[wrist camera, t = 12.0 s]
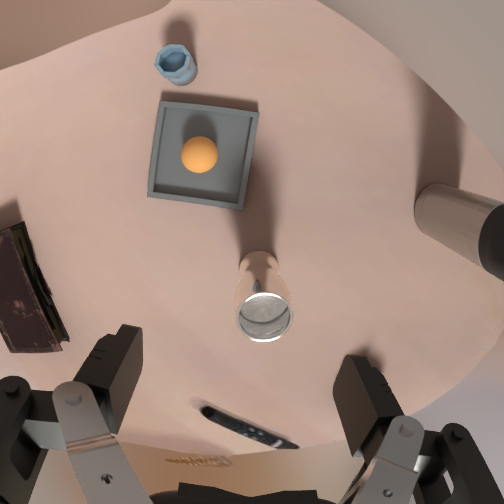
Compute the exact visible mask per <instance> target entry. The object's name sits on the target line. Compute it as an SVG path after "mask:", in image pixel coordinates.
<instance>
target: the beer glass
mask: <svg viewBox="0 0 504 504" xmlns="http://www.w3.org/2000/svg"><path fill="white" fill-rule="evenodd" d="M278 271H279V267H278V263H277V261H276V259H275V258H274V257H273V256H272V255H271V254H270V253H268V252H265V251H253V252H251V253H249V254H247V255H246V256H245V257H244V258H243V259H242V261H241V263H240V267H239V272H240V276H241V279H240V281H239V283H238V286H237V289H236V292H235V315H236V324H237V326H238V328H239V330H240V331H241V332H242V333H243V334H244V335H245V336H246V337H248V338H250V339H252V340H255V341H271V340H275V339H277V338H279V337H281V336H282V335H284V334H285V333H286V332H287V331H288V330H289V328H290V327H291V325H292V322H293V309H292V301H291V296H290V293H289V290H288V287H287V285H286V283H285V282H284V280H283V279H282V277H281V276H280V275H279V274H278Z"/></svg>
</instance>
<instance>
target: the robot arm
mask: <svg viewBox="0 0 504 504" xmlns="http://www.w3.org/2000/svg"><path fill="white" fill-rule="evenodd" d="M414 216H415V221H416V223H417V226H418V227H419V229H420V230H421V231H422V232H423V233H424V234H426V235H428V236H430V237H431V238H433V239H435V240H436V241H438V242H440V243H441V244H443V245H445V246H447V247H448V248H450V249H452V250H453V251H455V252H457V253H458V254H460V255H462V256H463V257H465V258H467V259H468V260H470V261H471V262H473V263H475V264H476V265H478V266H480V267H481V268H483V269H484V270H486V271H487V272H489V273H491V274H492V275H494V276H496V277H497V278H499V279H501V280H502V281H504V202H501V201H498V200H494V199H491V198H488V197H485V196H481V195H478V194H475V193H471V192H468V191H464V190H461V189H457V188H454V187H451V186H447V185H443V184H438V183H435V184H431V185H429V186H427V187H426V188H424V189H423V190H422V192H421V193H420V194H419V196H418V198H417V200H416V203H415V209H414ZM142 365H143V333H142V328H140V327H135V326H130V325H126V324H122V326H121V327H120V329H119V330H118V332H117V334H116V335H112V334H107V335H106V336H104V337H102V338H101V339H99V340H98V342H97V343H96V345H95V346H94V348H93V350H92V351H91V352H90V354H89V357H87V359H86V360H85V362H84V363H83V365H82V366H81V368H80V370H79V371H78V373H77V374H76V376H75V378H74V379H73V381H69V382H64V383H62V384H60V385H58V386H57V387H56V388H55V390H54V391H40V390H31V388H30V385H29V383H28V382H27V381H26V380H25V379H24V378H22V377H19V376H8V377H5V378H3V379H1V380H0V504H28V502H29V500H30V497H31V494H32V491H33V488H34V486H35V483H36V480H37V478H38V475H39V472H40V470H41V467H42V465H43V462H44V459H45V457H46V455H47V452H48V450H49V449H55V450H67V452H68V455H69V458H70V461H71V463H72V466H73V469H74V471H75V473H76V476H77V479H78V481H79V483H80V486H81V488H82V491H83V493H84V495H85V497H86V500H87V502H88V504H336V503H333V502H330V501H327V500H323V499H319V498H318V496H317V491H316V490H303V491H281V492H276V493H271V494H267V495H261V496H255V497H247V496H243V495H239V494H235V493H232V492H229V491H225V490H222V489H219V488H215V487H210V486H201V485H194V484H188V483H181V482H180V483H179V488H178V490H173V491H164V492H160V493H156V494H153V495H150V496H148V494H147V493H146V491H145V489H144V488H143V486H142V485H141V483H140V481H139V480H138V478H137V476H136V475H135V473H134V471H133V469H132V467H131V466H130V464H129V462H128V460H127V458H126V457H125V455H124V453H123V451H122V449H121V447H120V445H119V443H118V441H117V439H116V438H115V437H114V436H113V437H112V435H111V433H113V434H118V431H119V429H120V426H121V423H122V420H123V418H124V415H125V412H126V410H127V407H128V405H129V402H130V399H131V397H132V394H133V392H134V389H135V387H136V384H137V382H138V379H139V377H140V374H141V371H142ZM333 397H334V401H335V404H336V407H337V410H338V413H339V416H340V419H341V422H342V426H343V429H344V432H345V435H346V438H347V442H348V445H349V448H350V451H351V455H352V457H361V456H363V457H364V462H363V463H362V465H361V466H360V468H359V470H358V472H357V474H356V475H355V477H354V479H353V481H352V483H351V484H350V486H349V488H348V490H347V491H346V493H345V495H344V496H343V497H342V499H341V500H340V502H339V503H338V504H409V501H410V498H411V495H412V493H413V495H414V498H415V501H416V504H504V499H503V497H502V494H501V492H500V490H499V488H498V486H497V484H496V482H495V480H494V478H493V476H492V474H491V472H490V470H489V468H488V466H487V464H486V462H485V460H484V458H483V456H482V455H481V453H480V451H479V449H478V447H477V446H476V444H475V442H474V440H473V438H472V436H471V435H470V433H469V431H468V430H467V429H466V428H464V427H463V426H462V425H460V424H457V423H449V424H447V425H445V427H444V428H443V429H442V430H441V432H435V431H428V430H424V428H423V426H422V425H421V423H420V422H419V421H417V420H416V419H414V418H412V417H410V416H405V415H404V413H403V411H402V409H401V407H400V405H399V404H398V402H397V400H396V398H395V396H394V394H393V393H392V390H391V388H390V387H389V386H388V383H387V381H386V379H385V377H384V375H383V374H382V373H380V372H379V371H378V370H377V369H376V368H375V367H371V365H370V363H369V361H368V359H367V357H366V356H365V355H346V356H345V358H344V360H343V363H342V365H341V368H340V370H339V373H338V375H337V377H336V380H335V382H334V386H333ZM447 470H448V472H449V475H450V477H451V480H452V482H453V485H454V490H453V493H452V495H451V493H450V490H449V488H448V486H447V483H446V481H445V478H444V476H443V474H444V473H445V472H446V471H447Z"/></svg>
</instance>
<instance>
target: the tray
mask: <svg viewBox="0 0 504 504" xmlns="http://www.w3.org/2000/svg"><path fill="white" fill-rule="evenodd" d="M258 118H259V113H257V112H251V111H245V110H239V109H232V108H224V107H217V106H209V105H200V104H190V103H179V102H167V101H160V105H159V111H158V117H157V123H156V130H155V136H154V143H153V150H152V158H151V165H150V174H149V182H148V192H147V197H152V198H160V199H167V200H174V201H182V202H189V203H196V204H203V205H209V206H216V207H223V208H229V209H236V210H242V211H243V205H244V199H245V193H246V187H247V181H248V176H249V170H250V164H251V158H252V152H253V147H254V141H255V135H256V130H257V124H258ZM199 136H202V137H206V138H208V139H210V140H211V141H213V142H214V144H215V145H216V147H217V150H218V159H217V162H216V163H215V165H214V166H213V167H212V168H211V169H210V170H208V171H206V172H203V173H195V172H192V171H190V170H188V169H187V168H186V167H185V166H184V164H183V163H182V160H181V151H182V148H183V146H184V144H185V143H186V142H187V141H188V140H190V139H191V138H194V137H199Z"/></svg>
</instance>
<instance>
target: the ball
mask: <svg viewBox="0 0 504 504" xmlns="http://www.w3.org/2000/svg"><path fill="white" fill-rule="evenodd" d="M217 159H218V150H217V147H216V145H215V144H214V142H213V141H211V140H210V139H208V138H206V137H202V136H199V137H194V138H191V139H190V140H188V141H187V142H186V143H185V144H184V146H183V148H182V151H181V160H182V163H183V164H184V166H185V167H186V168H187V169H188V170H190V171H192V172H195V173H203V172H206V171H208V170H210V169H211V168H212V167H213V166H214V165H215V163H216V162H217Z"/></svg>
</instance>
